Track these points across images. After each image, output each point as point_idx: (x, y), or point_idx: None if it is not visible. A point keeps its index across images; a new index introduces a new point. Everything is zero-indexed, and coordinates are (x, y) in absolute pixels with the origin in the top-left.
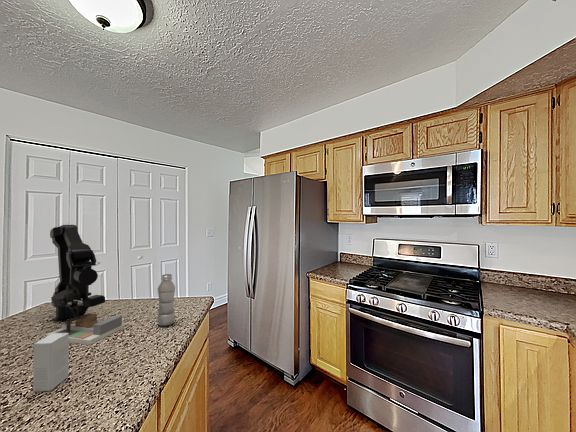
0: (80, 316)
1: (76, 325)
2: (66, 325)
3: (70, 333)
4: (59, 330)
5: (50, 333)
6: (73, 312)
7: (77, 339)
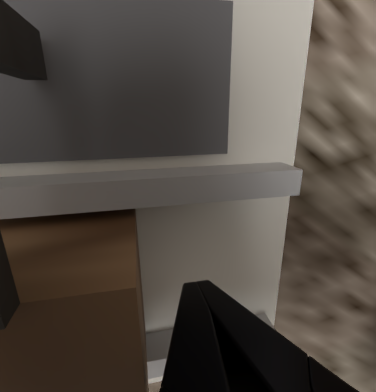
0: (120, 360)
1: (117, 223)
2: (251, 188)
3: None
4: (263, 121)
5: (285, 24)
6: (313, 388)
7: None
